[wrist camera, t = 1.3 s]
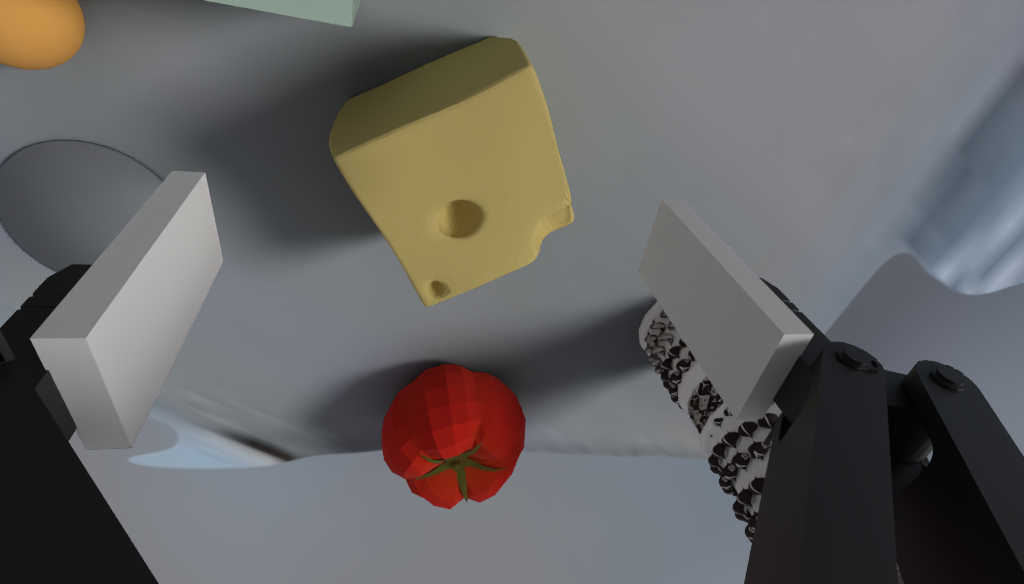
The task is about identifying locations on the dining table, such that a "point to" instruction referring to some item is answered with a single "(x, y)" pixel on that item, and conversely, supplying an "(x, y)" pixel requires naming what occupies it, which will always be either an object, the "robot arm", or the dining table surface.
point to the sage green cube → (305, 9)
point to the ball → (39, 32)
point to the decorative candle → (713, 417)
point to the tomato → (453, 435)
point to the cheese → (457, 166)
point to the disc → (71, 199)
